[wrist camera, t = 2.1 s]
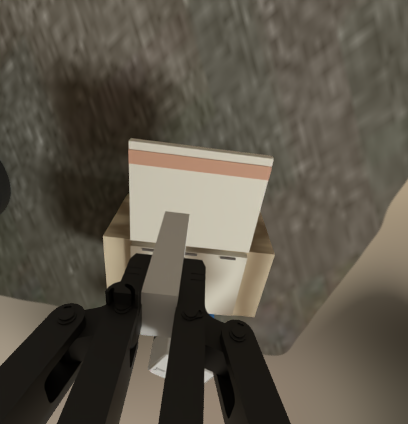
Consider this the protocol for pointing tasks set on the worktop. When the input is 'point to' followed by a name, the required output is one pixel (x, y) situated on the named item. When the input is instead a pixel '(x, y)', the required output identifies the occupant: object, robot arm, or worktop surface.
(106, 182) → the worktop surface
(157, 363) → the ink box
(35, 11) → the worktop surface
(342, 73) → the worktop surface
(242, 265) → the ticket block
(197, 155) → the stub
